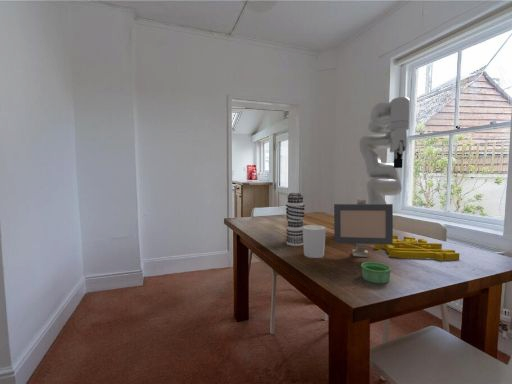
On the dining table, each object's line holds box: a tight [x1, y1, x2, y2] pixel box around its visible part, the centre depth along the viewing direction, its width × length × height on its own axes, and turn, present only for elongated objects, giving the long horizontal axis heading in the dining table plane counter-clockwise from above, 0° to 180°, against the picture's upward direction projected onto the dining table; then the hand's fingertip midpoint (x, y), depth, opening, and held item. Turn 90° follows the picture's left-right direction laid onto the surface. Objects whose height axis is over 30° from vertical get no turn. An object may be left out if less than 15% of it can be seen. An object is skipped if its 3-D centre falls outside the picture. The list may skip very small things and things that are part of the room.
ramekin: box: [360, 261, 392, 284], centre depth 87 cm, size 9×9×4 cm
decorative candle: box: [285, 192, 306, 247], centre depth 132 cm, size 9×9×25 cm
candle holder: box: [302, 224, 327, 259], centre depth 113 cm, size 10×10×12 cm
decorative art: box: [374, 234, 461, 262], centre depth 123 cm, size 34×3×30 cm
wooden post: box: [351, 198, 370, 258], centre depth 112 cm, size 4×6×24 cm
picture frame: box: [333, 203, 394, 245], centre depth 109 cm, size 2×22×16 cm, turn 75°
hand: (397, 167), depth 120 cm, fingers closed
